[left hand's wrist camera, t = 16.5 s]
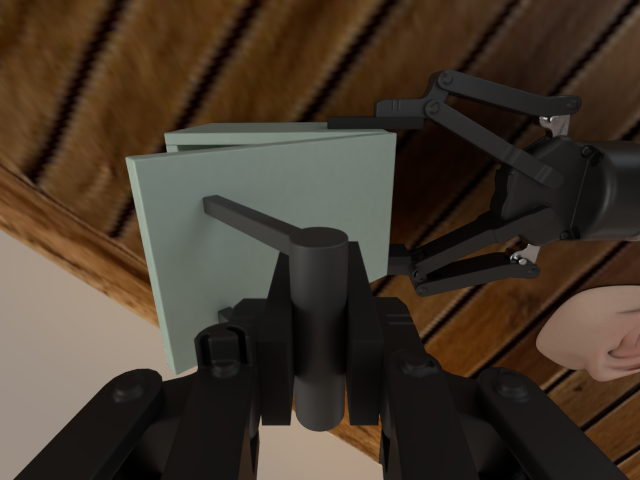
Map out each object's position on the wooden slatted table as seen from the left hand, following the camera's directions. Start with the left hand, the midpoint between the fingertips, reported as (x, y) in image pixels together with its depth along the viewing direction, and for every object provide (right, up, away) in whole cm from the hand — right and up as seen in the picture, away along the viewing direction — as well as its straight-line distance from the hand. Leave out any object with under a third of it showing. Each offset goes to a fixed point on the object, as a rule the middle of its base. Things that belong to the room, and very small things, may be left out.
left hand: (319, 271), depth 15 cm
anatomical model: (+31, -8, +25) cm, 41 cm away
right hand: (+1, +5, +12) cm, 13 cm away
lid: (-2, +2, +4) cm, 5 cm away
